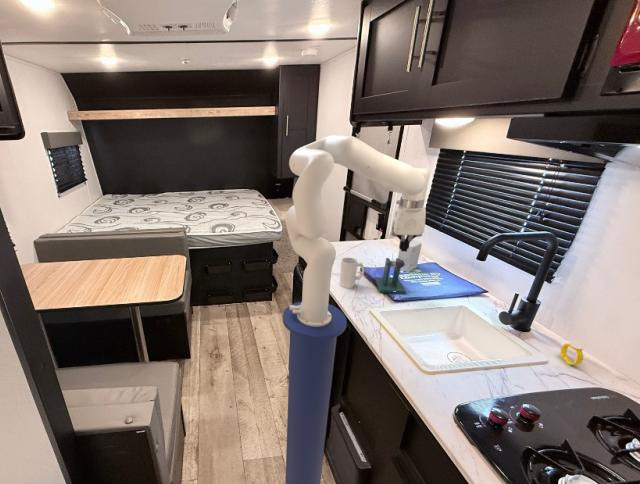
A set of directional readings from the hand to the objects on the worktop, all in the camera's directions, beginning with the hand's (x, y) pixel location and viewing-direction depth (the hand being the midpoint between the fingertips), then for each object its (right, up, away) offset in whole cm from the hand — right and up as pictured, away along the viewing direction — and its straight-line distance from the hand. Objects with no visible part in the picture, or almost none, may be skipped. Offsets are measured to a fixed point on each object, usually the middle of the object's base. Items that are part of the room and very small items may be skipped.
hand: (403, 250), depth 121 cm
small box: (+18, -7, +32) cm, 37 cm away
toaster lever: (+1, -7, +7) cm, 10 cm away
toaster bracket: (+2, -15, +16) cm, 22 cm away
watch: (+34, -35, -28) cm, 56 cm away
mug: (-14, -15, +19) cm, 28 cm away
